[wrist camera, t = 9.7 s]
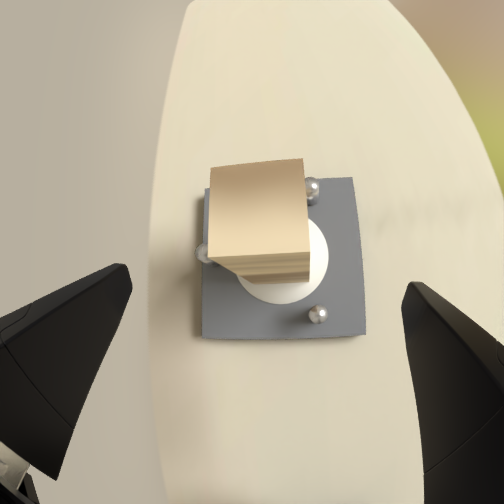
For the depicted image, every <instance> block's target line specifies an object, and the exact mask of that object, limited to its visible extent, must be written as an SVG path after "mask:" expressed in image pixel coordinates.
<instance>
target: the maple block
mask: <svg viewBox="0 0 504 504" xmlns="http://www.w3.org/2000/svg"><path fill="white" fill-rule="evenodd" d="M208 258H210V259H211V260H213V261H215V262H217V263H218V264H220V265H222V266H223V267H225V268H227V269H228V270H230V271H232V272H233V273H235V274H237V275H239V276H240V277H242V278H244V279H245V280H247V281H249V282H251V283H252V284H277V283H299V282H309V280H310V238H309V223H308V210H307V198H306V187H305V176H304V166H303V158H302V159H288V160H276V161H265V162H255V163H246V164H237V165H229V166H221V167H214V168H211V175H210V197H209V226H208Z"/></svg>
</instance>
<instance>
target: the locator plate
mask: <svg viewBox="0 0 504 504" xmlns="http://www.w3.org/2000/svg"><path fill="white" fill-rule="evenodd" d="M305 187H306V198H307V210H308V223H309V238H310V280H309V282H299V283H277V284H252V283H251V282H249V281H247V280H245V279H244V278H242V277H240V276H239V275H237V274H235V273H233V272H232V271H230V270H228V269H227V268H225V267H223V266H222V265H220V264H218V263H217V262H215V261H213V260H211V259H210V258H208V226H209V197H210V188H207V189H205V198H204V221H203V244H201V245H199V246H198V247H197V248H196V251H195V255H196V258H197V259H198V260H200V261H202V338H210V339H301V338H324V337H341V336H355V335H366V316H365V292H364V276H363V262H362V251H361V240H360V231H359V222H358V214H357V206H356V199H355V192H354V186H353V179H352V177H346V178H323V179H315V178H313V177H307V178H305Z"/></svg>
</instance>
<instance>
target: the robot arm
mask: <svg viewBox="0 0 504 504" xmlns="http://www.w3.org/2000/svg"><path fill="white" fill-rule="evenodd" d="M131 292H132V282H131V278H130V275H129V271H128V268H127V266H126V265H125V264H119V263H114V264H112V265H110V266H108V267H105V268H103V269H101V270H99V271H97V272H94V273H92V274H90V275H88V276H86V277H84V278H81V279H79V280H77V281H75V282H73V283H71V284H69V285H67V286H65V287H62V288H60V289H58V290H56V291H54V292H52V293H50V294H48V295H46V296H44V297H42V298H40V299H38V300H36V301H34V302H33V303H30V304H28V305H26V306H24V307H22V308H20V309H18V310H16V311H14V312H12V313H9V314H7V315H5V316H3V317H1V318H0V504H40V503H39V500H38V497H37V494H36V491H35V487H34V484H33V480H32V477H31V475H29V474H28V473H27V470H28V468H29V466H30V464H31V465H32V466H34V467H35V468H37V469H38V470H40V471H41V472H43V473H44V474H46V475H47V476H49V477H50V478H52V479H54V480H55V481H56V480H57V478H58V476H59V473H60V469H61V466H62V463H63V460H64V457H65V454H66V451H67V448H68V445H69V443H70V440H71V437H72V434H73V431H74V430H73V429H74V428H75V426H76V423H77V420H78V418H79V415H80V413H81V410H82V408H83V405H84V403H85V400H86V398H87V395H88V393H89V390H90V388H91V385H92V383H93V381H94V379H95V376H96V374H97V372H98V370H99V367H100V365H101V363H102V361H103V358H104V356H105V354H106V352H107V350H108V348H109V346H110V343H111V341H112V339H113V337H114V335H115V333H116V331H117V329H118V326H119V324H120V321H121V318H122V316H123V313H124V310H125V308H126V305H127V302H128V300H129V297H130V295H131ZM401 311H402V318H403V325H404V333H405V342H406V350H407V356H408V361H409V366H410V371H411V376H412V381H413V387H414V393H415V399H416V405H417V412H418V419H419V427H420V436H421V445H422V457H423V472H424V504H504V346H503V345H502V344H501V343H500V342H499V341H497V340H496V339H495V338H494V337H493V336H491V335H490V334H489V333H488V332H487V331H485V330H484V329H483V328H482V327H480V326H479V325H478V324H477V323H475V322H474V321H473V320H472V319H470V318H469V317H468V316H467V315H465V314H464V313H463V312H461V311H460V310H459V309H458V308H456V307H455V306H454V305H452V304H451V303H450V302H448V301H447V300H446V299H444V298H443V297H442V296H440V295H439V294H438V293H436V292H435V291H434V290H432V289H431V288H429V287H428V286H427V285H425V284H424V283H422V282H410V283H409V284H408V286H407V289H406V292H405V295H404V298H403V301H402V306H401Z"/></svg>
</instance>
